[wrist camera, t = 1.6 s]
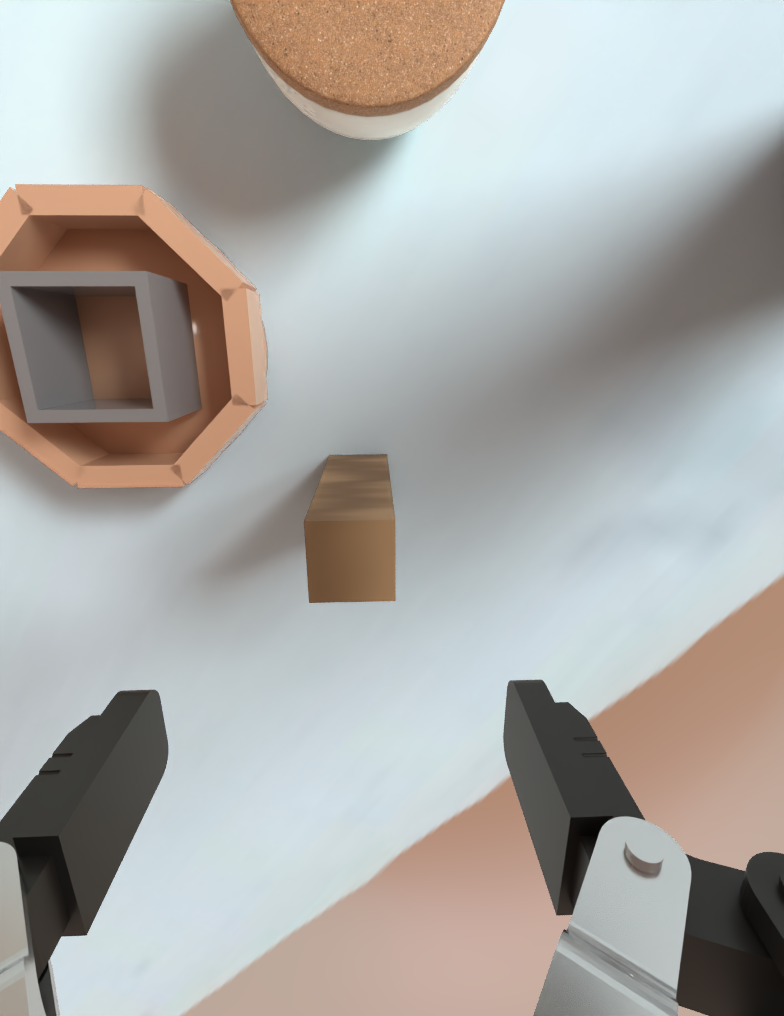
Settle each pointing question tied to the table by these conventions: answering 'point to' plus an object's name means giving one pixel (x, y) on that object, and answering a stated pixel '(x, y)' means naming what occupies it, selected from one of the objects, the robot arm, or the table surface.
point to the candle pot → (122, 337)
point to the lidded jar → (368, 57)
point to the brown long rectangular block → (351, 532)
